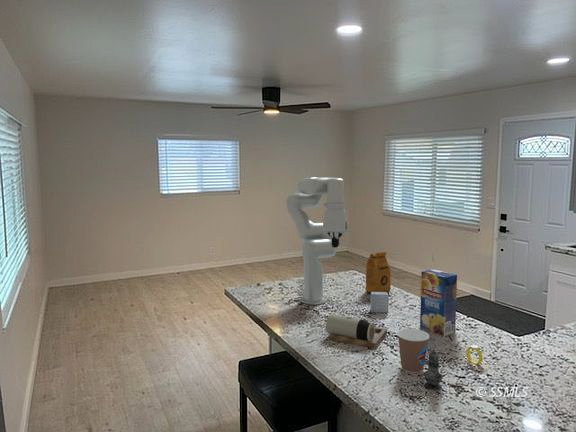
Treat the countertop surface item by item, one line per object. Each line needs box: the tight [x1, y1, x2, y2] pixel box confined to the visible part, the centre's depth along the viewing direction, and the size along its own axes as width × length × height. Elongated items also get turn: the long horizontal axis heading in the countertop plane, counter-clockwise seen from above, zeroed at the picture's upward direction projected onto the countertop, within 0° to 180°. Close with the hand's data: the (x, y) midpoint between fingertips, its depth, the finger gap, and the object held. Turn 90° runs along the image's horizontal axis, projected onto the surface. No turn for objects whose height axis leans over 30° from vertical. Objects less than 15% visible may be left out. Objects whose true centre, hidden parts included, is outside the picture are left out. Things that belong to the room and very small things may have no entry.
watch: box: [465, 344, 483, 366], centre depth 147 cm, size 6×3×6 cm, turn 23°
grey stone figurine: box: [422, 348, 444, 392], centre depth 131 cm, size 6×6×12 cm
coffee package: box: [365, 251, 392, 294], centre depth 230 cm, size 10×12×22 cm
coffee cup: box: [396, 328, 430, 374], centre depth 142 cm, size 10×10×12 cm
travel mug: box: [325, 313, 376, 341], centre depth 168 cm, size 8×8×18 cm
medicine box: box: [370, 292, 389, 313], centre depth 200 cm, size 8×4×9 cm, turn 84°
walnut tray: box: [329, 326, 388, 350], centre depth 170 cm, size 18×16×2 cm
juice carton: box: [419, 268, 458, 337], centre depth 176 cm, size 12×8×24 cm, turn 31°
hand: (335, 247), depth 191 cm, fingers closed
